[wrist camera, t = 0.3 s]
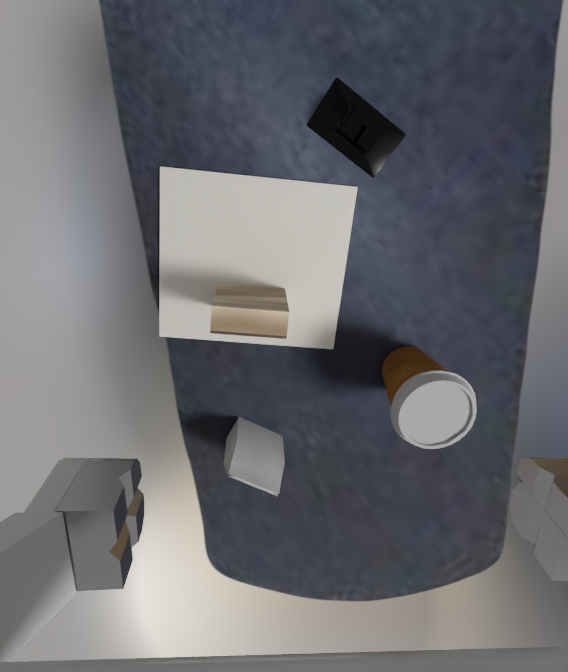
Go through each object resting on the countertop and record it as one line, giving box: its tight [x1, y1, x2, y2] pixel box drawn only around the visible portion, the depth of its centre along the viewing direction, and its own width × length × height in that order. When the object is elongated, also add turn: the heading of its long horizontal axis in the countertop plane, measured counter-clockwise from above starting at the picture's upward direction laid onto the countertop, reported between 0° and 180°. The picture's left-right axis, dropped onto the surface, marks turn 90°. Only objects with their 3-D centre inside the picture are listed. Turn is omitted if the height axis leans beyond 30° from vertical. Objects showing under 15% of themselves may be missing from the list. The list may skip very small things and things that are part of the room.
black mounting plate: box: [307, 78, 405, 177], centre depth 49 cm, size 12×7×5 cm, turn 55°
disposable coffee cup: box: [382, 346, 477, 449], centre depth 56 cm, size 10×10×12 cm
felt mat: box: [159, 166, 358, 349], centre depth 55 cm, size 20×22×1 cm
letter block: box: [210, 283, 289, 339], centre depth 52 cm, size 3×8×9 cm, turn 84°
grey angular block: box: [224, 417, 285, 496], centre depth 60 cm, size 4×7×10 cm, turn 61°
